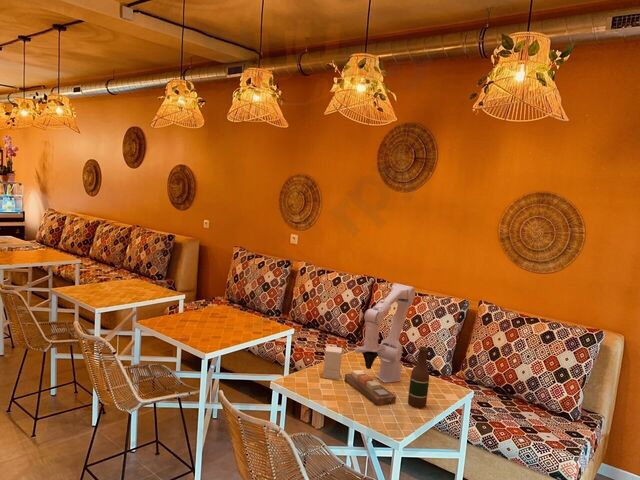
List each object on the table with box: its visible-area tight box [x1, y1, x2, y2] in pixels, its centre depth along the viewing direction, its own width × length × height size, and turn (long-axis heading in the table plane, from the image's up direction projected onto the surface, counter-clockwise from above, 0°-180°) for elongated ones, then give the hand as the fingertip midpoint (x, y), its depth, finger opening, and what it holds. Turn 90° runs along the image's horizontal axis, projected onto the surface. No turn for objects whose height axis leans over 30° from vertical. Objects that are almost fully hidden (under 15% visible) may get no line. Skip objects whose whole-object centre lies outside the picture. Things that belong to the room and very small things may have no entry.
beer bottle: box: [407, 345, 430, 409], centre depth 196 cm, size 8×8×24 cm
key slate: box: [374, 389, 389, 397], centre depth 198 cm, size 4×4×2 cm
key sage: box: [366, 380, 382, 391], centre depth 203 cm, size 4×4×2 cm
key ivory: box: [351, 369, 367, 379], centre depth 213 cm, size 4×4×2 cm
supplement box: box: [322, 345, 343, 380], centre depth 218 cm, size 7×7×13 cm
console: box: [344, 372, 397, 407], centre depth 206 cm, size 9×26×3 cm, turn 27°
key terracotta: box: [359, 374, 374, 385], centre depth 208 cm, size 4×4×2 cm
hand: (368, 368), depth 207 cm, fingers closed
